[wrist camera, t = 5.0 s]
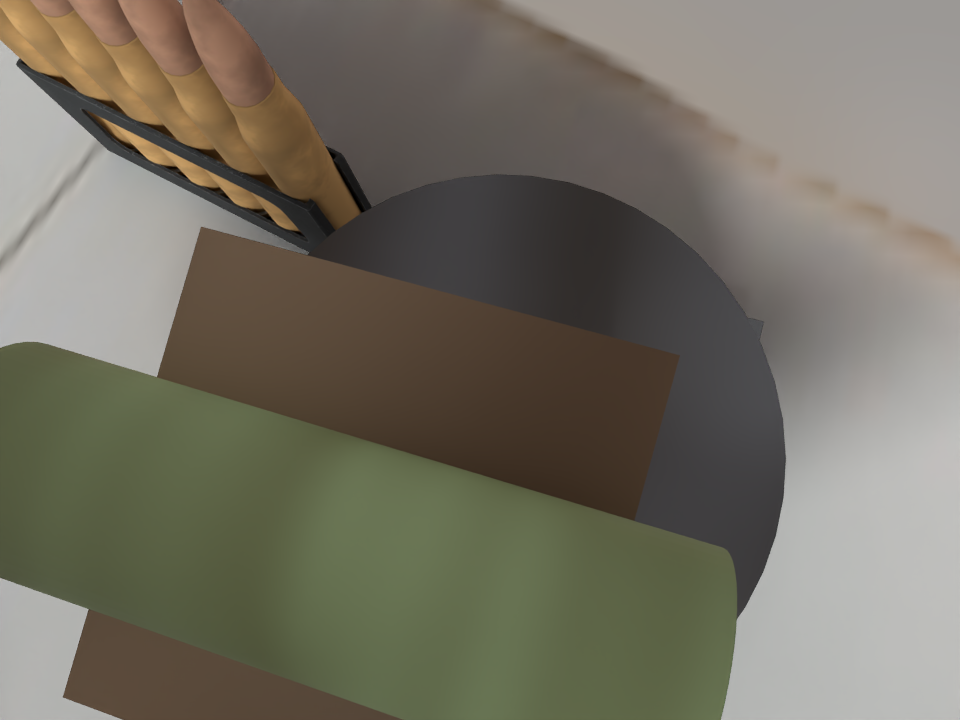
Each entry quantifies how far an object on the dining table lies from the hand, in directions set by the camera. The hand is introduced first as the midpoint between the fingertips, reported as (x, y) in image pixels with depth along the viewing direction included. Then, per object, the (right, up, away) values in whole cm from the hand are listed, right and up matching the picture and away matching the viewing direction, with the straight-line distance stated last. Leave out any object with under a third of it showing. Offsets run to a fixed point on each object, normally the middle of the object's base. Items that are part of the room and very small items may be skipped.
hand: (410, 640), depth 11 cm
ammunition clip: (-7, +10, +14) cm, 19 cm away
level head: (+1, +2, +6) cm, 6 cm away
